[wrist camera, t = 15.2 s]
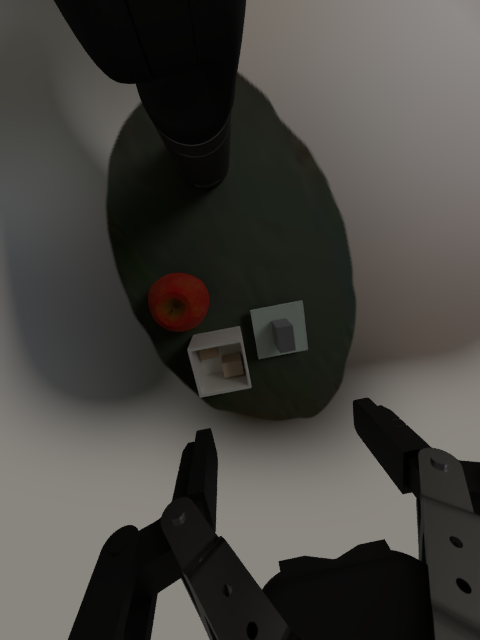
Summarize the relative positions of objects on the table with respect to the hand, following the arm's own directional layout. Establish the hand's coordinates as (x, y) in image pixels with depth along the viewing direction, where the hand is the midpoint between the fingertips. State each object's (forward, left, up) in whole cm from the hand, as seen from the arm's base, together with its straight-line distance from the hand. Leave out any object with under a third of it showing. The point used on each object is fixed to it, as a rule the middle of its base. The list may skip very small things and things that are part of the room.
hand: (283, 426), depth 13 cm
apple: (-3, -11, -36) cm, 38 cm away
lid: (+7, +7, -36) cm, 37 cm away
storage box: (+10, -6, -36) cm, 38 cm away
